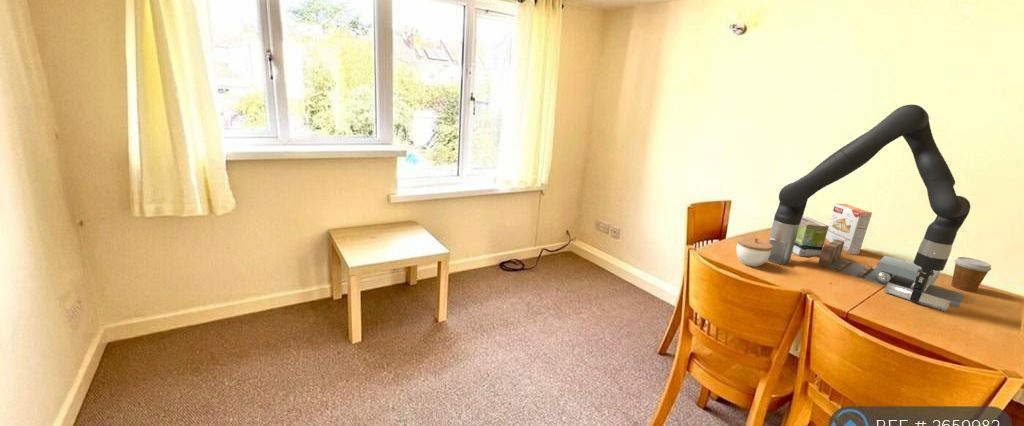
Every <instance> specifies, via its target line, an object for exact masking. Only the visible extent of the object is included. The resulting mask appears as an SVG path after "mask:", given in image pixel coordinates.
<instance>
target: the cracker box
mask: <svg viewBox="0 0 1024 426" xmlns="http://www.w3.org/2000/svg"><path fill="white" fill-rule="evenodd" d="M872 214H873V212H871V211H867V210H865V209H862V208H860V207H857V206H853V205H850V204H847V203H835V204H834V207H833V210H832V214H831V217H830V220H829V224H828V226H829V228H828V231H827V234H826V238H825V241H824V245H823V246H826V245H827V244H829V243H831V242H833V241H834V240H836V239H837V240H841V241H845V242H844V246H843V249H842V252H841V253H845V254H846V255H858V256H859V254H860V252H861V250H862V249H861V248H862V246H863V243H864V241H865V236H866V234H867V229H868V227H869V224H870V221H871V217H872Z"/></svg>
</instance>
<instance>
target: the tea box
mask: <svg viewBox="0 0 1024 426" xmlns="http://www.w3.org/2000/svg"><path fill="white" fill-rule="evenodd" d="M828 228H829V225H828V224H825V223H822V222H820V221H818V220H816V219H813V218H810V217H808V216H804V215H803V217H802V219H801V222H800V226H799V229H798V233H797V237H796V240H795V244H794V248H793V251H792V254H793V253H794V254H795V255H797V256H799V257H807V258H808V257H810V258H812V257H814V256H819V257H820V256H821V252H822V249H823V247H824V246H825V245H824V241H825V238H826V234H827V231H828Z"/></svg>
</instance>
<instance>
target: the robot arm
mask: <svg viewBox="0 0 1024 426" xmlns="http://www.w3.org/2000/svg"><path fill="white" fill-rule="evenodd" d="M931 128H932V127H931V123H930V115H929V113H928V112H927V111H926V109H924V108H923V107H922V106H920V105H918V104H905V105H903V106H899V107H898V108H896V109H895V110H893V111H892V112H890V114H888V115H887V116H886V117H885V118H884V119H882V120H881V121H880V122H878V123H877V124H876V125H875V126H873V127H872V128H871V129H869V130H868V131H866V132H864V133H863V134H861V135H860V136H858V137H856V138H855V139H854V140H852V141H850V142H848V143H847V144H845V145H844V146H842V147H841V148H839V149H838V150H836V151H834V152H833V153H832V154H831V155H829V156H827V157H826V158H825V159H824V160H823V161H822V162H820V163H819V164H818V165H816V166H815V167H814V168H813V169H811V171H810V172H808V173H807V174H806V175H804V176H803V177H801V178H799V179H797V180H795V181H793V182H790V183H789V184H786V185H784V186H783V187H782V188H781V190H780V191H779V194H778V200H779V202H778V207H777V209H776V212H775V214H774V216H773V221H772V226H771V230H770V233H769V237H768V240H767V242H768V243H770V244H772V246H773V248H772V251H771V254H770V256H769V258H768V260H767V261H768V262H772V263H773V264H774V263H775V264H778V265H789V264H790V262H791V258H792V254H793V252H792V251H793V248H794V244H795V240H796V237H797V233H798V229H799V226H800V222H801V219H802V217H803V216H804V213H805V211H806V210H805V209H806V207H807V202H808V199H810V198H811V197H812V196H813V195H815V194H816V193H817V192H819V191H820V190H821V189H824V188H826V187H827V186H830V185H832V184H834V183H836V182H837V181H839V180H841V179H843V178H845V177H846V176H848V175H850V174H852V173H853V172H855V171H856V170H858V169H860V168H861V167H862V166H864V165H865V164H867V163H868V162H869V161H870V160H872V158H873V157H875V156H876V155H877V154H878V153H879V152H880V151H881V150H882V149H883V148H885V147H886V146H887V145H889V144H890V143H892V142H894V141H895V140H897V139H899V138H901V137H902V138H903V139H904V140H905V142H906V143H907V145H908V147H909V148H910V151H911V153H912V155H913V158H914V162H915V165H916V168H917V171H918V173H919V175H920V178H921V180H922V182H923V185H924V186H925V188H926V191H927V192H926V193H927V197H928V202H929V206H930V207H931V210H932V212H934V214H935V215H936V217H935V219H934V221H933V222H931V223H930V224H929V225H928V226H927V229H926V231H925V233H924V236H923V238H922V241H921V242H920V244H919V247H918V249H917V251H916V254H915V257H914V260H913V263H914V264H915V265H917V266H920V267H921V268H922V269H919V270H918V271H917V273H916V278H915V280H914V286H913V288H912V290H913V292H912V295H911V297H910V300H911V301H910V302H912V301H913V303H916V304H918V303H917V302H919V299H920V297H921V294H922V293H923V292H924V289H925V288H926V287H927V286H928V284H929V283H930V281H931V279H932V278H933V276H934V273H933V270H935V271H940V272H941V271H944V269H945V267H946V265H947V262H948V261H949V257H950V254H951V252H952V248H953V245H954V243H955V240H956V237H957V235H958V231H959V229H961V227H962V225H963V224H964V222H965V221H966V219H967V217H968V216H969V213H970V211H971V203H970V201H969V200H968V198H966V197H964V196H961V195H957V193H956V191H955V188H954V186H955V185H956V180H955V178H954V175H953V174H952V171H951V169H950V167H949V165H948V163H947V161H946V159H945V157H943V154H942V153H941V151H940V150H939V148H938V147H939V146H938V144H937V143H936V140H935V138H934V136H933V133H932V129H931Z"/></svg>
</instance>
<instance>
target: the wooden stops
mask: <svg viewBox="0 0 1024 426" xmlns="http://www.w3.org/2000/svg"><path fill="white" fill-rule="evenodd" d="M844 242H845V241H841V240H837V239H836V240H834V241H833V242H831V243H829V244H827V245H826V246H825V245H823V248H822V251H821V255H820V256H819V259H818V263H817V266H818V267H822V268H825V269H826V268H827V267H829V266H830V265H832V264H833V263H835V262H836V261H838V260H839V259H841V255H842V253H843V252H842V249H843V246H844ZM851 262H852V263H853V261H852V260H851V259H845V262H843V263H842V264H841V265H839V266H838V267H836V270H838V271H841V270H842V269H844V268H845V267H846V266H848V265H849V264H850V263H851ZM872 268H873V266H872V265H869V264H867V266H866V268H864V269H863V270H862V271H861V272H860V273H858V275H857V277H856V278H858V277H861V278H862V277H863V276H864V275H866V274H867V273H868V272H869V271H870V270H871V269H872ZM827 269H828V268H827ZM838 271H837V272H838ZM861 278H860V279H861Z"/></svg>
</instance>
